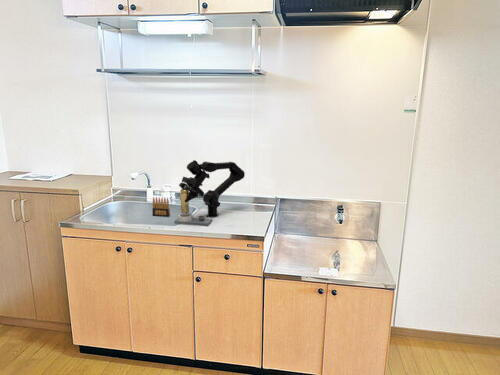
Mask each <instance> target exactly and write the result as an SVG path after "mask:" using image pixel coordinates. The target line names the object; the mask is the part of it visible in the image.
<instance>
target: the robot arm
mask: <svg viewBox="0 0 500 375" xmlns="http://www.w3.org/2000/svg"><path fill="white" fill-rule="evenodd" d="M186 169H187V170H188V171H189V172H190V173H191V175H193V177H191V176H190V177H187V176H182V179H181V182H180V183H179V185H178V187H180V188H181V189H188V196H187V198H186V199H185V202H188V201H189V202H190V201H191V200H193V199H195V198H198V197H201V198H202V200H203V203H204V205H205V206H207V214H206V215H205V217H209V218H210V217H212V218H216V217H218V215H219V213H218V207H220V206H221V203H220V201H219V199H220V197H221V195H222V194H223V193H224V192H226V191H227V190H228V189H229V188H230V187H231V186H233V184H235V183H236V182H239V181H241V180H243V179H244V178H245V170H243V169H242V168H241V167H240V166H238V165H237V163H236V162H234V161H227V162H225V161H224V162H211V161H203V162H202V163H198V161H197V160H192V161H191V162H189V163H188V164H187V165H186ZM218 170H229V172H230V173H229V176H228V178H226V179H225V180H224V181H223V182H222V183H220V184H219V186H217V187H216V188H215V189H214V190H212V189H211V190H210V189H208V190H207V192H204V190H202V189H201V187H203V183H204V181H205V180H206V179H211V178H210V177H211V176H210V173H213V172H216V171H218ZM179 200H180V201H181V197H180V198H179Z"/></svg>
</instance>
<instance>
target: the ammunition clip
mask: <svg viewBox="0 0 500 375" xmlns="http://www.w3.org/2000/svg"><path fill="white" fill-rule="evenodd" d="M170 209H171V208H170V202H169V198H168V197H164V198H163V197H159V196H158V197H157V196H156V197H155V196H153V197H152V217H160V218H161V217H162V218H170V217H171V211H170Z"/></svg>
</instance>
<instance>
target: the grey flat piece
mask: <svg viewBox="0 0 500 375" xmlns="http://www.w3.org/2000/svg"><path fill="white" fill-rule="evenodd" d="M212 222H213V218H210V217H209V218H207V217H206V215H199V216H198V217H194V215H193V214H192V213H190V212H188V213H179V214H178V215H177V218H176V219H174V222H173V223H174V224H175V225H188V226H189V225H190V226H201V227H202V226H204V227H209V226H210V225H211V224H212Z"/></svg>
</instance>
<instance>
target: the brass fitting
mask: <svg viewBox="0 0 500 375" xmlns="http://www.w3.org/2000/svg"><path fill="white" fill-rule="evenodd" d="M179 191H180V198H181V200H180V213H181V214H183V213H190V206H189V205H190V204H189V202H190V201H188V202H185V199H186V198H187V196H188V189H182V188H181V189H180V190H179Z"/></svg>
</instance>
